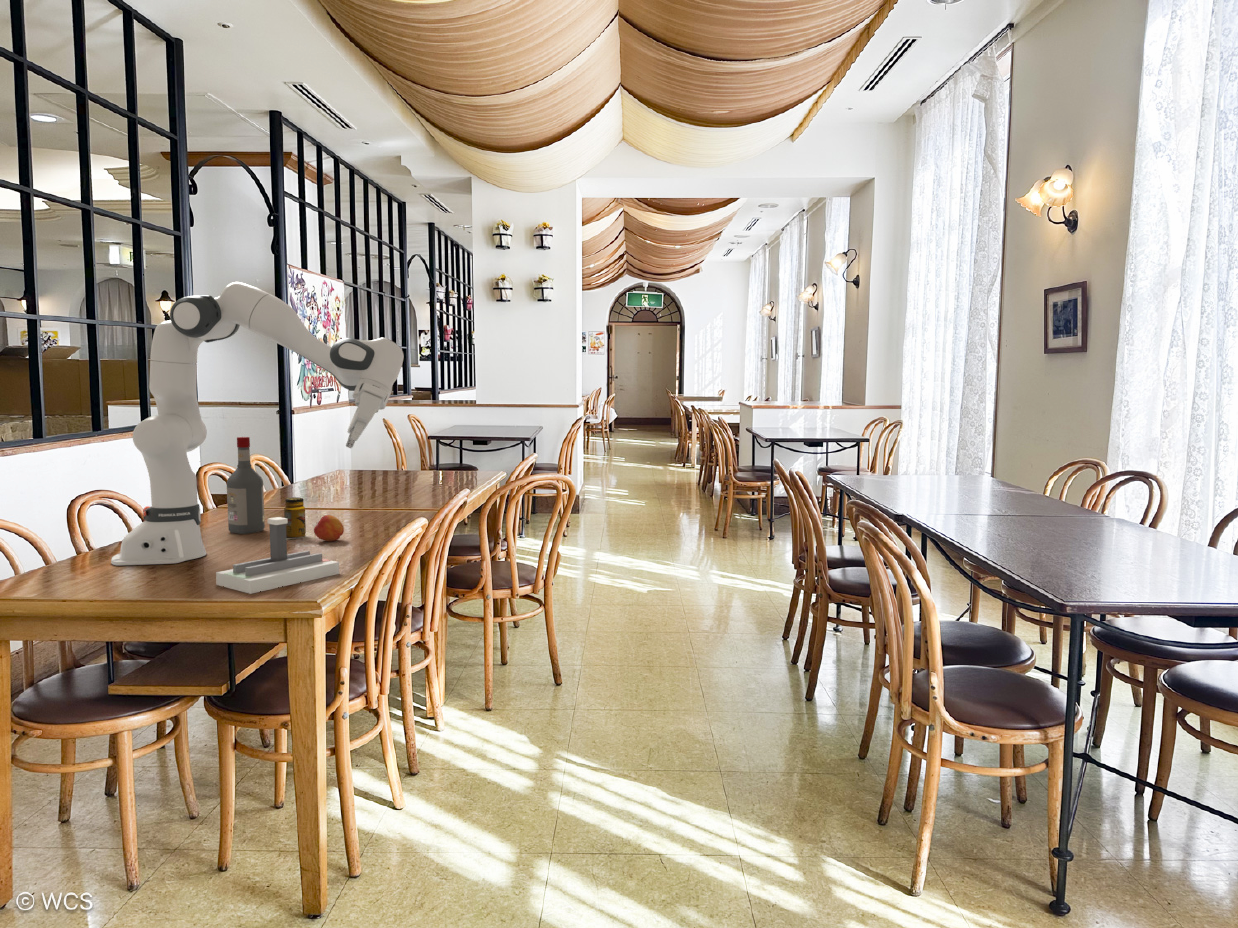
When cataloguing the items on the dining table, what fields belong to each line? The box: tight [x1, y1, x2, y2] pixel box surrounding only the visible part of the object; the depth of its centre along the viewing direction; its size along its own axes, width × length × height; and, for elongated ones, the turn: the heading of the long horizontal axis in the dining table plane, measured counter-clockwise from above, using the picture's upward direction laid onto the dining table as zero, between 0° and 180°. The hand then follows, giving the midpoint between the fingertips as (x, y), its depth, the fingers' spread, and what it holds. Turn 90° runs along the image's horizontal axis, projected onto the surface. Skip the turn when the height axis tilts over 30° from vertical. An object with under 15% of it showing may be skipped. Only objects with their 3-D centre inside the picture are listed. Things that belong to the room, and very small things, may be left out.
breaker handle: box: [267, 516, 288, 563], centre depth 201 cm, size 3×4×12 cm
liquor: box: [226, 436, 266, 535], centre depth 262 cm, size 9×9×30 cm
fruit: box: [313, 514, 345, 542], centre depth 249 cm, size 8×8×8 cm
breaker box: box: [215, 550, 340, 595], centre depth 202 cm, size 24×14×5 cm, turn 146°
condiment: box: [283, 496, 311, 540], centre depth 255 cm, size 7×8×12 cm
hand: (351, 443), depth 214 cm, fingers open, 8 cm apart
